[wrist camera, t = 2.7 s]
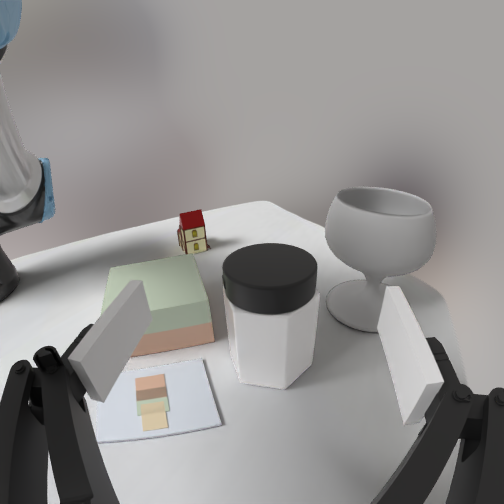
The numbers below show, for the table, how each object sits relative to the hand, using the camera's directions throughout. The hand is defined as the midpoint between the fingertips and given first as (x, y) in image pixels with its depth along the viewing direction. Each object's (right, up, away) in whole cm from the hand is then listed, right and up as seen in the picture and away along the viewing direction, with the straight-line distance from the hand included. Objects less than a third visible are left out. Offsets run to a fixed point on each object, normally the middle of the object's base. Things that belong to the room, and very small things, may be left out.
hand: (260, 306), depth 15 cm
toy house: (-14, +3, +43) cm, 45 cm away
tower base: (-12, -6, +22) cm, 26 cm away
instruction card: (-10, -12, +10) cm, 19 cm away
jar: (+1, -9, +15) cm, 18 cm away
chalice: (+15, -5, +23) cm, 28 cm away
